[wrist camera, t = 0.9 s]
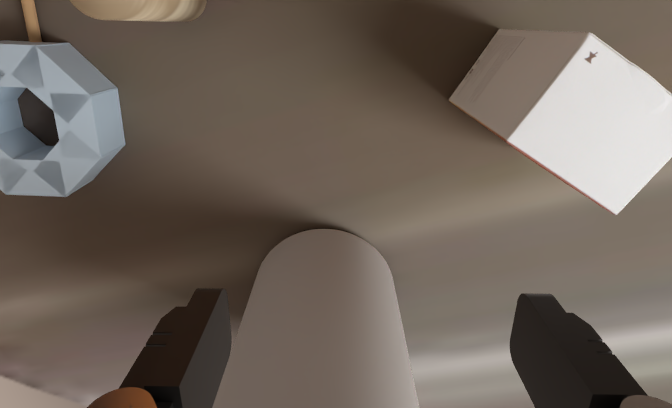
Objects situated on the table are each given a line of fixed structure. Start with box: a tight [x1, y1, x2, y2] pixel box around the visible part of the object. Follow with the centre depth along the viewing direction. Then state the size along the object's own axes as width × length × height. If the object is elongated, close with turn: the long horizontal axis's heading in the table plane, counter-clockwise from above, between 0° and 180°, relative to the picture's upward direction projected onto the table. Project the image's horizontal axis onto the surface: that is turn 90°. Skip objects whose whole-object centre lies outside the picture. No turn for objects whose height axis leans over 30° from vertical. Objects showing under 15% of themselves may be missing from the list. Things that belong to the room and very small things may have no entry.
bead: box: [0, 40, 125, 197], centre depth 34 cm, size 11×11×4 cm
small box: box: [449, 29, 672, 215], centre depth 28 cm, size 8×6×13 cm
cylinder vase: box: [212, 229, 419, 408], centre depth 29 cm, size 12×12×25 cm
